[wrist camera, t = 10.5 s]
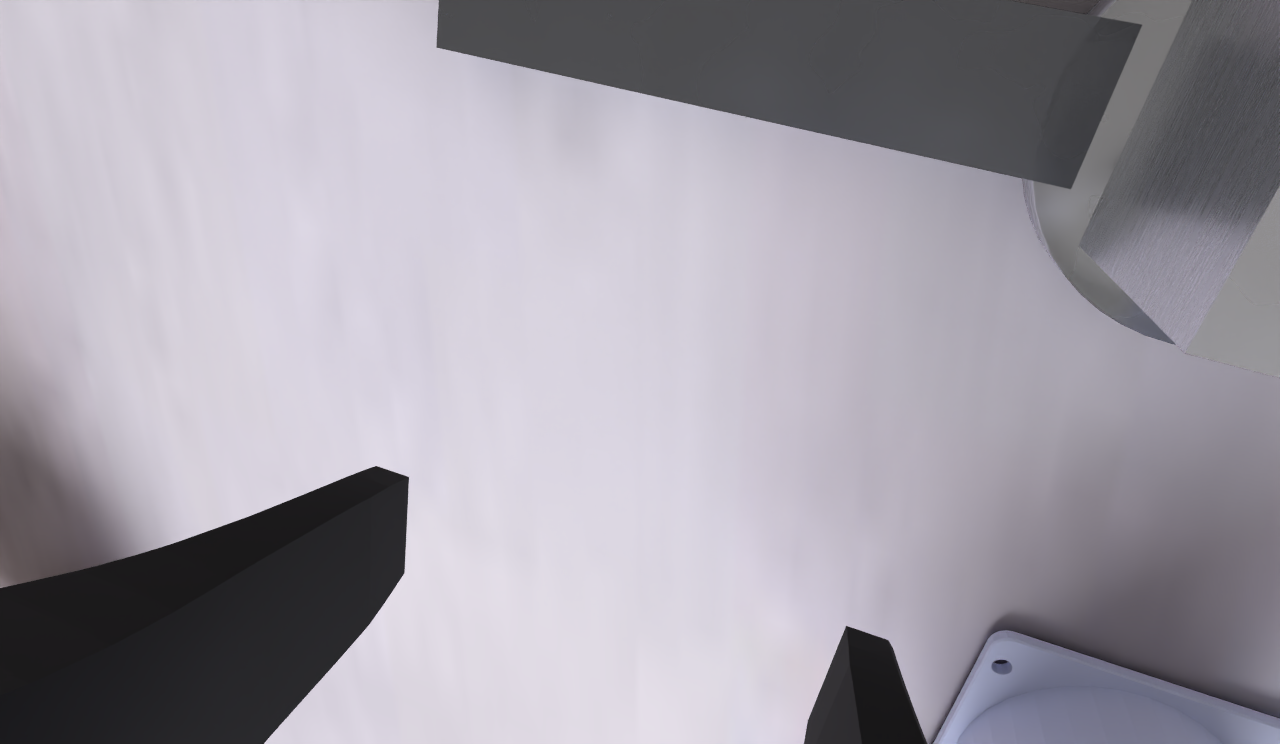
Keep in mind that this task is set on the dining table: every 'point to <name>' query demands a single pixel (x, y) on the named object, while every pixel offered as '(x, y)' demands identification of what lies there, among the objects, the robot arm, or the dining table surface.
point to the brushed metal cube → (1204, 190)
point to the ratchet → (881, 82)
